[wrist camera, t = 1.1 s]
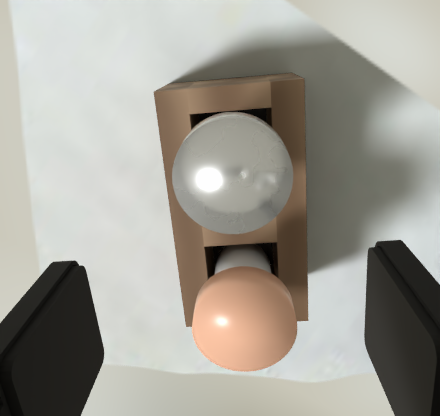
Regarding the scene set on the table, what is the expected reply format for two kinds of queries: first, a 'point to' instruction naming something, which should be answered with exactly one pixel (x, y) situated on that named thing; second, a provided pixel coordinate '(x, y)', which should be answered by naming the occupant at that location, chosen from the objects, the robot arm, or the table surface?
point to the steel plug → (232, 173)
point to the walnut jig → (288, 217)
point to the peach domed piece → (244, 312)
